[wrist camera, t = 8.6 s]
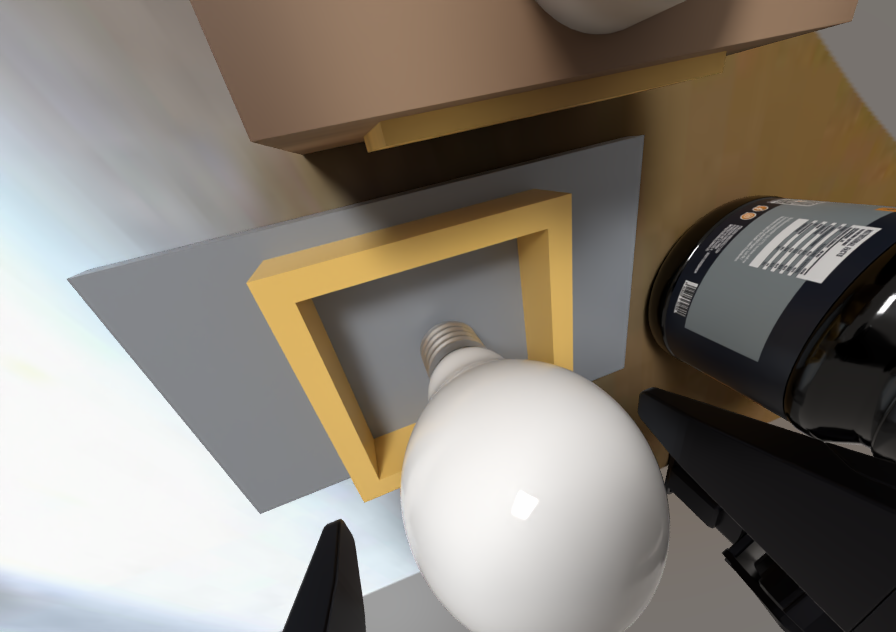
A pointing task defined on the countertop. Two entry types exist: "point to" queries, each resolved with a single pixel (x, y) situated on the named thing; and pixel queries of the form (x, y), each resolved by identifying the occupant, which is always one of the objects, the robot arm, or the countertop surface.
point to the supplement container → (790, 312)
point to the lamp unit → (469, 59)
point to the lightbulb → (529, 494)
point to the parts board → (375, 312)
